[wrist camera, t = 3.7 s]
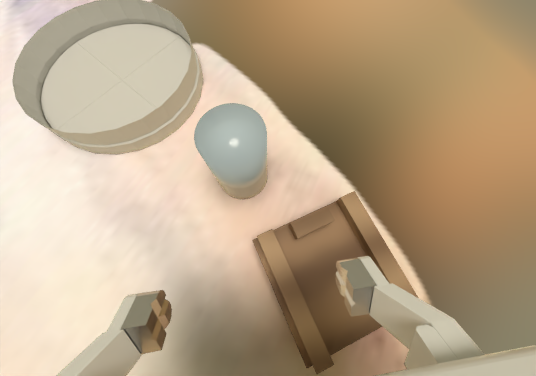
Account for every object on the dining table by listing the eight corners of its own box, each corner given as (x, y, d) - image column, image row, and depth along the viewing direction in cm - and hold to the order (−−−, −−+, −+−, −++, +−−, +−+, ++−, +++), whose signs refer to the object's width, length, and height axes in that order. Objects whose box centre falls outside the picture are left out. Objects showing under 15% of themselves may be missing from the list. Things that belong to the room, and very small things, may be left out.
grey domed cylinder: (275, 187, 27) (278, 149, 18) (230, 206, 27) (208, 178, 17) (255, 147, 29) (249, 94, 20) (212, 165, 28) (184, 118, 19)
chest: (401, 299, 24) (435, 309, 19) (301, 354, 22) (311, 380, 17) (344, 200, 27) (360, 187, 22) (254, 242, 25) (250, 238, 21)
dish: (19, 93, 32) (-25, 65, 27) (138, 11, 37) (120, -25, 32) (114, 188, 28) (82, 174, 23) (235, 80, 33) (229, 50, 28)
